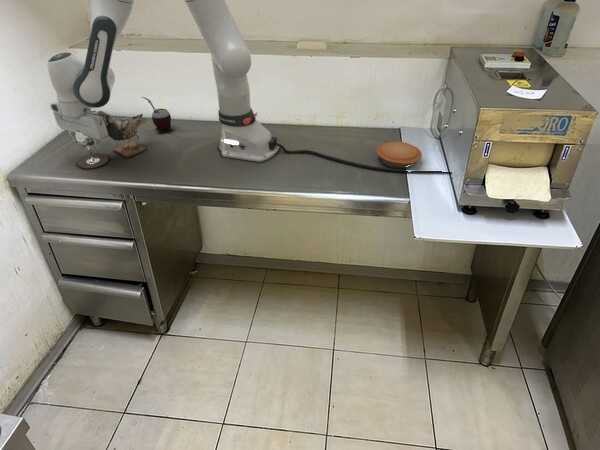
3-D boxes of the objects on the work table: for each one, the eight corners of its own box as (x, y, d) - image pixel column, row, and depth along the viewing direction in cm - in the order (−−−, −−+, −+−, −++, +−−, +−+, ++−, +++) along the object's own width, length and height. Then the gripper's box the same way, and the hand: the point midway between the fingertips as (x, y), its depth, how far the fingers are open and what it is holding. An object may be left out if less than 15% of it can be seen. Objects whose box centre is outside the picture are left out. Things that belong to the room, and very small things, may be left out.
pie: (368, 153, 159) (370, 140, 156) (408, 148, 162) (410, 136, 159) (385, 174, 147) (387, 161, 144) (427, 169, 150) (430, 156, 147)
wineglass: (95, 165, 150) (85, 133, 143) (80, 164, 151) (69, 131, 143) (105, 157, 154) (95, 126, 147) (90, 156, 155) (80, 124, 148)
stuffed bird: (99, 161, 153) (85, 114, 143) (134, 137, 168) (124, 93, 158) (123, 166, 151) (110, 119, 140) (156, 141, 166) (147, 97, 155)
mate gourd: (176, 127, 176) (169, 90, 167) (166, 135, 170) (159, 98, 160) (159, 125, 177) (151, 89, 168) (149, 133, 171) (141, 96, 162)
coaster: (114, 159, 155) (114, 157, 154) (92, 171, 148) (91, 170, 147) (94, 152, 158) (94, 151, 158) (71, 165, 151) (71, 163, 151)
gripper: (106, 109, 139) (117, 148, 147) (62, 97, 147) (75, 135, 155) (90, 116, 135) (102, 156, 143) (45, 104, 142) (60, 142, 150)
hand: (87, 145), depth 149 cm, fingers open, 8 cm apart
